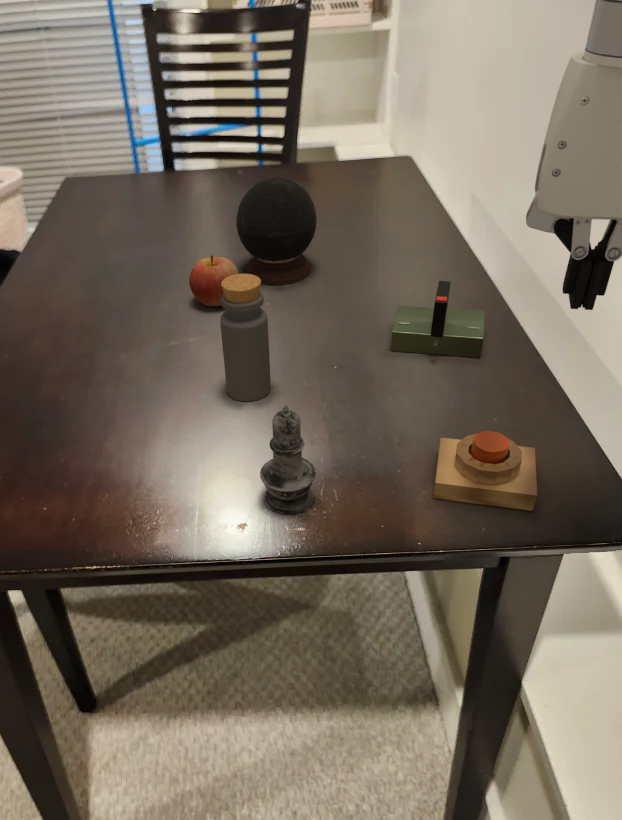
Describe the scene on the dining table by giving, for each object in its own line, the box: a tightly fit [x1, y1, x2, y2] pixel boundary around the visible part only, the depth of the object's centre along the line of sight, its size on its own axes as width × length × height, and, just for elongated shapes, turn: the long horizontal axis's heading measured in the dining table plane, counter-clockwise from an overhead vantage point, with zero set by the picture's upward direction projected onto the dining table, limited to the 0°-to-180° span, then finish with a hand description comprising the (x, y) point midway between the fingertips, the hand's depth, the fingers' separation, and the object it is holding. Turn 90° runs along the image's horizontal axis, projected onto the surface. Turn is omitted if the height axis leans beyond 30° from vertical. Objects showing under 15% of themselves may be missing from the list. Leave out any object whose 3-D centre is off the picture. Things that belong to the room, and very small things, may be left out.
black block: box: [430, 280, 452, 337], centre depth 93 cm, size 6×2×5 cm, turn 164°
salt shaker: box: [259, 404, 317, 516], centre depth 70 cm, size 6×6×12 cm
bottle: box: [219, 273, 272, 402], centre depth 86 cm, size 6×6×15 cm
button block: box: [432, 432, 538, 512], centre depth 73 cm, size 10×8×4 cm
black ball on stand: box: [236, 177, 318, 286], centre depth 113 cm, size 13×13×15 cm
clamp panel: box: [390, 305, 486, 359], centre depth 95 cm, size 12×11×3 cm
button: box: [471, 430, 510, 464], centre depth 72 cm, size 4×4×2 cm
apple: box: [188, 254, 240, 307], centre depth 108 cm, size 8×8×8 cm
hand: (580, 301), depth 56 cm, fingers closed
